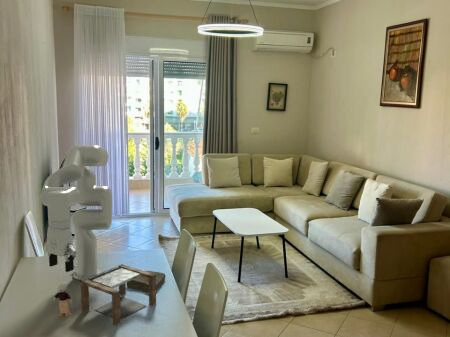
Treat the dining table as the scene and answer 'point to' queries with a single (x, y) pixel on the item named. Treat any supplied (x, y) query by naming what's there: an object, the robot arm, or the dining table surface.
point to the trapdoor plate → (114, 277)
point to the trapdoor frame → (118, 297)
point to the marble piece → (146, 282)
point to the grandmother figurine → (63, 300)
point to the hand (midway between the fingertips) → (61, 268)
